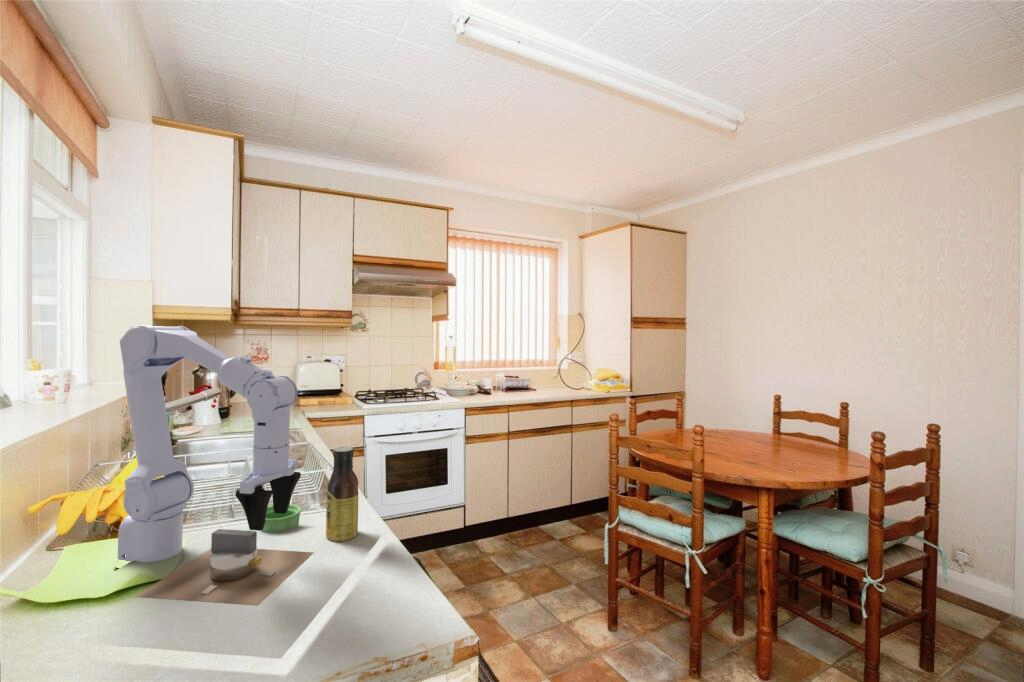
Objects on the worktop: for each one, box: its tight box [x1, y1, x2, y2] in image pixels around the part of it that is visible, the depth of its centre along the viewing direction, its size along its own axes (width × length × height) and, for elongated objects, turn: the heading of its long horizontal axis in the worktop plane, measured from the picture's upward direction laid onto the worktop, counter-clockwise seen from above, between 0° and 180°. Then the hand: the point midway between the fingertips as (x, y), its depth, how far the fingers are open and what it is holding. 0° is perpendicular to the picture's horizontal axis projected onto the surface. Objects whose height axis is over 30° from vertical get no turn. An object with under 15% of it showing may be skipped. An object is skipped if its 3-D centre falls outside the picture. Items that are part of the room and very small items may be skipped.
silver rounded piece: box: [210, 528, 261, 581], centre depth 83 cm, size 8×7×7 cm
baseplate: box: [135, 548, 315, 606], centre depth 84 cm, size 20×18×2 cm
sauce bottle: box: [325, 445, 359, 543], centre depth 100 cm, size 7×6×20 cm
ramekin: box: [261, 503, 302, 533], centre depth 105 cm, size 9×9×4 cm
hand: (269, 520), depth 86 cm, fingers open, 7 cm apart
